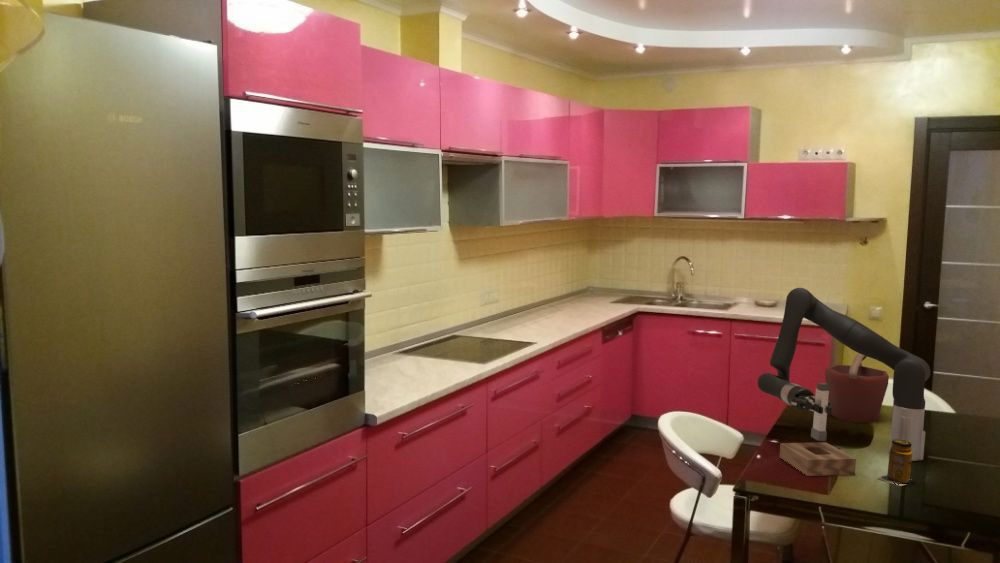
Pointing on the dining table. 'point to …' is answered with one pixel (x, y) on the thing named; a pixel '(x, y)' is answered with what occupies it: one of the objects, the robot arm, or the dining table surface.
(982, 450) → the dining table surface
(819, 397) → the metal bar
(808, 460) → the tongs holder
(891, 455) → the condiment
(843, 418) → the bucket
